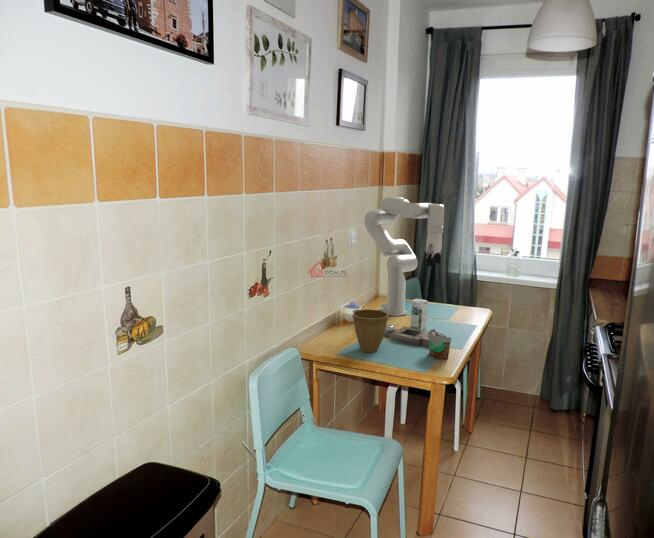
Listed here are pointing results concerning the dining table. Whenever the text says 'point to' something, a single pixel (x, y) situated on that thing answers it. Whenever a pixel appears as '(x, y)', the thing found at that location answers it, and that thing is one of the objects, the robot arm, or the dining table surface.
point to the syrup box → (419, 314)
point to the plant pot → (370, 328)
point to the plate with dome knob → (390, 330)
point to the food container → (438, 345)
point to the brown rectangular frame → (419, 338)
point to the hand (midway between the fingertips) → (433, 264)
